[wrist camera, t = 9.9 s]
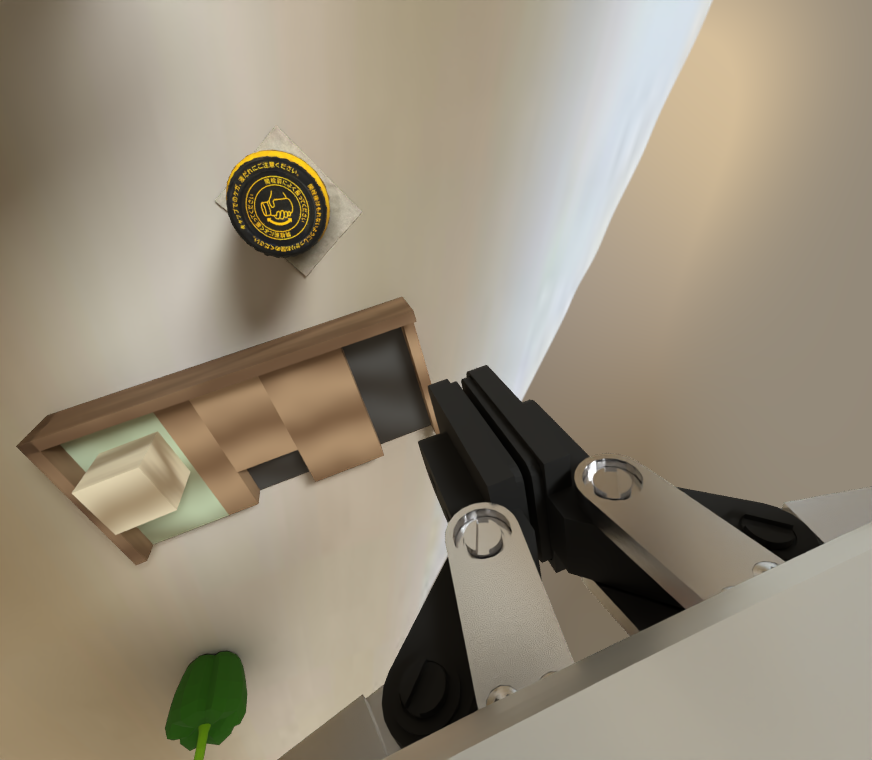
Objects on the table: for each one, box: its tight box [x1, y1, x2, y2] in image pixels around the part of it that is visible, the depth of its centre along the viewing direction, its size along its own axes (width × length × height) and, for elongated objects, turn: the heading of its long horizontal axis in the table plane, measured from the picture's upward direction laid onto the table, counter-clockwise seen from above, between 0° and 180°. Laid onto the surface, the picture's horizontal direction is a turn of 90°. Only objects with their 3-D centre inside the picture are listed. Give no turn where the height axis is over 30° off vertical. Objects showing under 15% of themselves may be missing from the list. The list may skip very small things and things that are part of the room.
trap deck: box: [16, 297, 440, 565], centre depth 39 cm, size 15×32×4 cm, turn 104°
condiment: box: [215, 126, 362, 276], centre depth 28 cm, size 7×8×12 cm
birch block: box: [72, 431, 190, 535], centre depth 35 cm, size 5×5×5 cm
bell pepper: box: [165, 651, 247, 760], centre depth 50 cm, size 8×8×10 cm
